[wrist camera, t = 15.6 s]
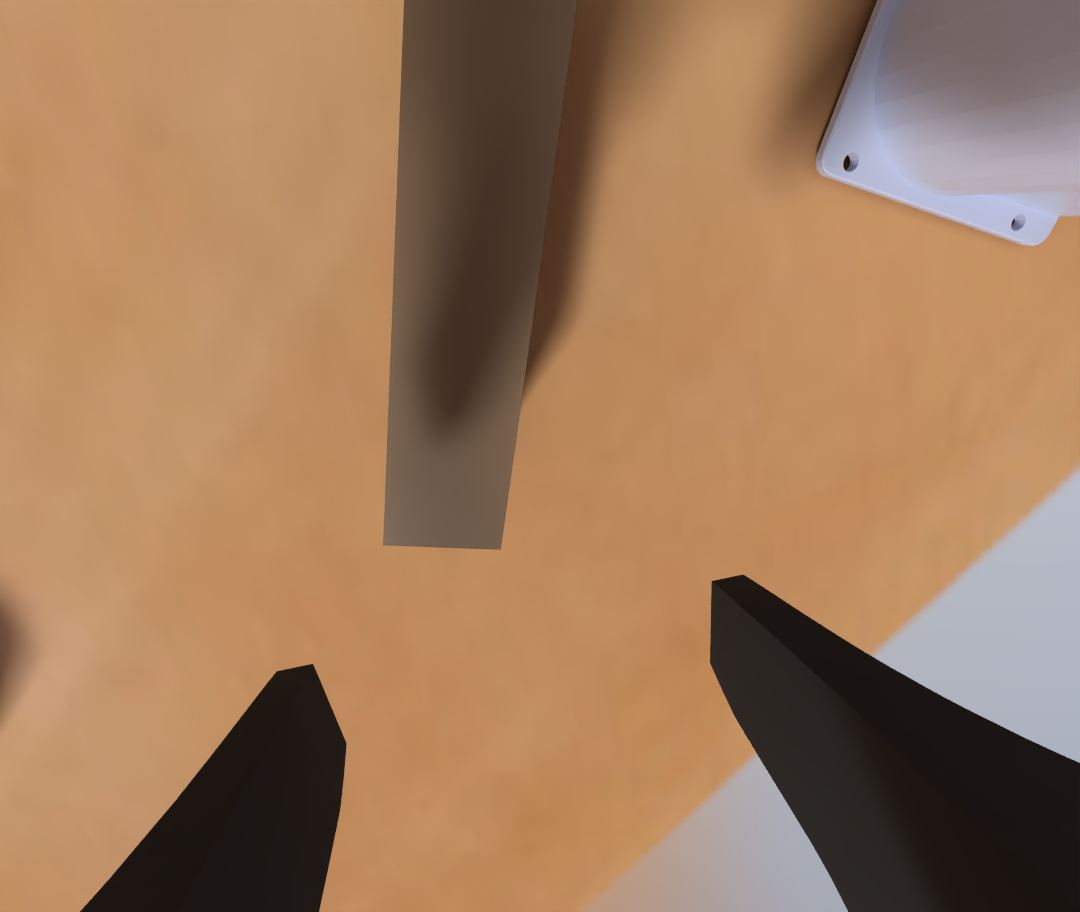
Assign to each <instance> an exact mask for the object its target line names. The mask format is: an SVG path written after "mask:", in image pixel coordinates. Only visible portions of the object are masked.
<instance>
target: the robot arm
mask: <svg viewBox="0 0 1080 912" xmlns="http://www.w3.org/2000/svg"><path fill="white" fill-rule="evenodd" d="M847 155H848V156H849V157H850V165H849V167H848V169H847V170H844V167H843V162H844V159H845V157H846V156H847ZM816 168H817V170H818V172H819V173H820V174H821V175H823V176H825V177H828V178H831V179H833V180H836V181H839V182H842V183H845V184H848V185H851V186H854V187H856V188H859V189H862V190H865V191H868V192H871V193H874V194H877V195H879V196H882V197H885V198H888V199H891V200H894V201H897V202H900V203H903V204H905V205H908V206H911V207H914V208H917V209H920V210H923V211H926V212H928V213H931V214H934V215H937V216H940V217H943V218H946V219H949V220H952V221H954V222H957V223H960V224H963V225H966V226H969V227H972V228H975V229H977V230H980V231H983V232H986V233H989V234H992V235H995V236H998V237H1000V238H1003V239H1006V240H1009V241H1012V242H1015V243H1018V244H1021V245H1034V246H1035V245H1037V244H1040V243H1041V242H1042V241H1044V240H1045V239H1046V238H1047V236H1048V235H1049V233H1050V232H1051V230H1052V228H1053V226H1054V225H1055V223H1056V221H1057V219H1058V218H1059V216H1080V0H877V2H876V5H875V7H874V10H873V12H872V15H871V18H870V20H869V23H868V25H867V28H866V30H865V33H864V35H863V38H862V41H861V43H860V46H859V48H858V51H857V53H856V56H855V58H854V61H853V64H852V66H851V69H850V71H849V74H848V76H847V79H846V81H845V84H844V87H843V89H842V92H841V94H840V97H839V99H838V102H837V104H836V107H835V110H834V112H833V115H832V117H831V120H830V122H829V125H828V127H827V130H826V133H825V135H824V138H823V140H822V143H821V145H820V148H819V150H818V153H817V157H816ZM1013 219H1014V223H1013V225H1012V227H1011V224H1012V221H1013ZM710 664H711V666H712V668H713V670H714V673H715V675H716V677H717V679H718V681H719V684H720V686H721V688H722V690H723V693H724V695H725V697H726V699H727V701H728V703H729V705H730V707H731V709H732V711H733V714H734V716H735V717H736V719H737V721H738V723H739V724H740V726H741V728H742V729H743V731H744V733H745V734H746V736H747V738H748V739H749V741H750V743H751V744H752V746H753V748H754V749H755V751H756V753H757V754H758V756H759V758H760V759H761V761H762V763H763V764H764V766H765V767H766V769H767V771H768V772H769V774H770V776H771V777H772V779H773V781H774V782H775V784H776V786H777V787H778V789H779V790H780V792H781V794H782V795H783V797H784V798H785V800H786V802H787V804H788V805H789V807H790V808H791V810H792V812H793V813H794V815H795V817H796V818H797V820H798V822H799V823H800V825H801V826H802V828H803V830H804V832H805V833H806V835H807V836H808V838H809V839H810V841H811V843H812V845H813V846H814V848H815V850H816V852H817V853H818V855H819V857H820V859H821V860H822V862H823V864H824V866H825V867H826V869H827V871H828V873H829V875H830V877H831V878H832V880H833V882H834V884H835V886H836V888H837V890H838V892H839V894H840V896H841V898H842V900H843V902H844V904H845V906H846V908H847V910H848V912H1080V763H1079V762H1076V761H1074V760H1072V759H1069V758H1067V757H1065V756H1063V755H1060V754H1058V753H1056V752H1054V751H1052V750H1049V749H1047V748H1045V747H1043V746H1041V745H1039V744H1037V743H1034V742H1032V741H1030V740H1028V739H1025V738H1024V737H1022V736H1020V735H1018V734H1016V733H1013V732H1011V731H1010V730H1007V729H1005V728H1004V727H1001V726H1000V725H998V724H996V723H993V722H991V721H989V720H987V719H985V718H983V717H981V716H979V715H977V714H975V713H973V712H971V711H969V710H967V709H965V708H963V707H961V706H960V705H958V704H956V703H954V702H952V701H950V700H948V699H946V698H944V697H942V696H941V695H939V694H937V693H935V692H933V691H931V690H930V689H928V688H926V687H924V686H923V685H921V684H919V683H917V682H915V681H914V680H912V679H910V678H908V677H906V676H905V675H903V674H901V673H899V672H897V671H896V670H894V669H892V668H890V667H889V666H887V665H885V664H884V663H882V662H880V661H879V660H877V659H875V658H874V657H872V656H870V655H869V654H867V653H865V652H864V651H862V650H860V649H859V648H857V647H855V646H854V645H852V644H850V643H849V642H847V641H846V640H844V639H842V638H841V637H839V636H838V635H836V634H834V633H833V632H831V631H830V630H828V629H826V628H825V627H823V626H822V625H820V624H819V623H817V622H815V621H814V620H812V619H811V618H809V617H808V616H806V615H805V614H803V613H802V612H800V611H799V610H797V609H795V608H794V607H792V606H791V605H789V604H788V603H786V602H785V601H783V600H782V599H780V598H779V597H777V596H776V595H774V594H773V593H771V592H770V591H768V590H766V589H765V588H763V587H762V586H760V585H759V584H757V583H756V582H754V581H753V580H751V579H749V578H748V577H746V576H745V575H739V576H734V577H730V578H725V579H720V580H715V581H712V595H711V645H710ZM345 755H346V741H345V739H344V737H343V734H342V732H341V729H340V727H339V725H338V722H337V720H336V718H335V715H334V713H333V710H332V708H331V706H330V703H329V701H328V698H327V696H326V694H325V691H324V689H323V687H322V684H321V682H320V679H319V677H318V675H317V672H316V670H315V668H314V665H313V664H310V665H305V666H301V667H296V668H291V669H286V670H281V671H277V672H276V673H275V674H274V676H273V677H272V678H271V679H270V681H269V682H268V683H267V684H266V686H265V687H264V688H263V689H262V691H261V692H260V693H259V695H258V696H257V697H256V699H255V700H254V701H253V702H252V704H251V705H250V706H249V708H248V709H247V710H246V712H245V713H244V714H243V715H242V717H241V718H240V719H239V721H238V722H237V723H236V725H235V726H234V727H233V728H232V730H231V731H230V732H229V734H228V735H227V736H226V737H225V739H224V740H223V741H222V743H221V744H220V745H219V747H218V748H217V749H216V750H215V752H214V753H213V754H212V756H211V757H210V758H209V759H208V761H207V762H206V763H205V764H204V766H203V767H202V768H201V769H200V771H199V772H198V773H197V774H196V776H195V777H194V778H193V779H192V781H191V782H190V783H189V784H188V786H187V787H186V788H185V790H184V791H183V792H182V793H181V795H180V796H179V797H178V798H177V800H176V801H175V802H174V803H173V804H172V806H171V807H170V808H169V809H168V810H167V812H166V813H165V814H164V815H163V816H162V817H161V819H160V820H159V821H158V822H157V823H156V825H155V826H154V827H153V828H152V829H151V830H150V832H149V833H148V834H147V835H146V836H145V838H144V839H143V840H142V841H141V842H140V843H139V845H138V846H137V847H136V848H135V849H134V851H133V852H132V853H131V854H130V855H129V856H128V858H127V859H126V860H125V861H124V862H123V864H122V865H121V866H120V867H119V868H118V869H117V871H116V872H115V873H114V874H113V875H112V877H111V878H110V879H109V880H108V881H107V882H106V883H105V884H104V886H103V887H102V888H101V889H100V890H99V891H98V892H97V893H96V895H95V896H94V897H93V898H92V899H91V900H90V901H89V902H88V903H87V905H86V906H85V907H84V908H83V909H82V910H81V911H80V912H319V909H320V904H321V899H322V895H323V890H324V885H325V881H326V876H327V871H328V866H329V862H330V857H331V852H332V847H333V842H334V837H335V832H336V827H337V822H338V817H339V812H340V807H341V797H342V788H343V779H344V767H345Z"/></svg>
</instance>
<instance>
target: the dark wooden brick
mask: <svg viewBox="0 0 1080 912" xmlns="http://www.w3.org/2000/svg"><path fill="white" fill-rule="evenodd" d="M577 2H578V0H404V19H403V45H402V71H401V97H400V123H399V149H398V175H397V201H396V227H395V253H394V279H393V305H392V331H391V357H390V383H389V409H388V435H387V461H386V487H385V513H384V539H383V545H389V546H416V547H443V548H469V549H496V550H501V543H502V536H503V529H504V522H505V515H506V508H507V501H508V494H509V486H510V479H511V472H512V465H513V458H514V451H515V444H516V437H517V429H518V422H519V415H520V408H521V401H522V394H523V387H524V380H525V372H526V365H527V358H528V351H529V344H530V337H531V330H532V323H533V315H534V308H535V301H536V294H537V287H538V280H539V273H540V266H541V258H542V251H543V244H544V237H545V230H546V223H547V216H548V209H549V202H550V194H551V187H552V180H553V173H554V166H555V159H556V152H557V145H558V137H559V130H560V123H561V116H562V109H563V102H564V95H565V88H566V80H567V73H568V66H569V59H570V52H571V45H572V38H573V31H574V23H575V16H576V9H577Z"/></svg>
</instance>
